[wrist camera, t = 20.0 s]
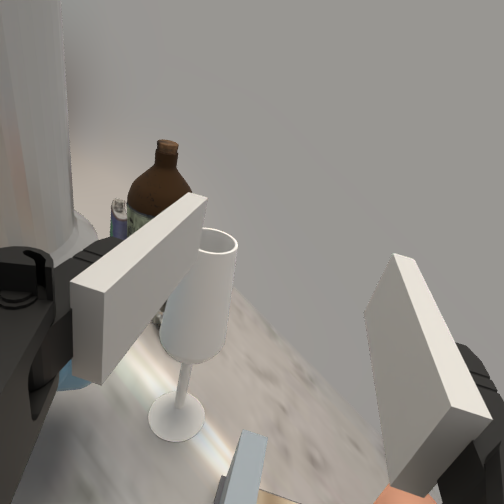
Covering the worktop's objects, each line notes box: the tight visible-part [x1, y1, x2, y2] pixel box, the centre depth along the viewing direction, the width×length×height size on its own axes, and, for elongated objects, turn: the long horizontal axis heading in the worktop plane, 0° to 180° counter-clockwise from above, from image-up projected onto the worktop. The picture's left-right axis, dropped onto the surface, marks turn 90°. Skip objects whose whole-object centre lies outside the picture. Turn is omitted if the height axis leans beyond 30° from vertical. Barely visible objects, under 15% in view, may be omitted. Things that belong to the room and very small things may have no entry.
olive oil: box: [127, 140, 192, 238], centre depth 58 cm, size 11×11×25 cm
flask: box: [110, 198, 127, 240], centre depth 67 cm, size 9×3×11 cm, turn 24°
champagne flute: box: [148, 228, 238, 442], centre depth 35 cm, size 7×7×24 cm
